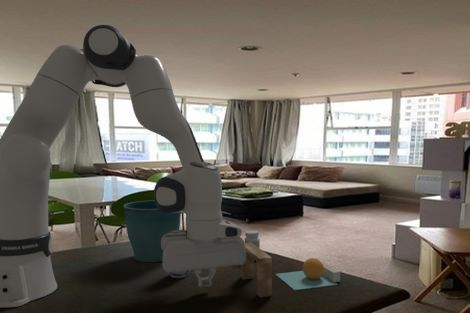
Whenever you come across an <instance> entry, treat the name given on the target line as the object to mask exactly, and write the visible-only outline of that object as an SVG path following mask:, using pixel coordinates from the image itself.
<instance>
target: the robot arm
mask: <svg viewBox="0 0 470 313" xmlns="http://www.w3.org/2000/svg"><path fill="white" fill-rule="evenodd" d="M136 52H137V50H136V47H135V46H134V45H133V44H132V43H131V42H130V41H129V40H128V39H127V37H126V36H125V35H124V34H123V33H122V32H121V31H120V30H118V29H117V28H116V27H114V26H113V25H109V24H98V25H96V26H93V27H92V28H90V29H88V31H87V32H86V34H85V35H84V38H83V42H82V48H80V47H79V48H78V47H76V46H74V45H70V44H62V45H59V46H57V47H56V48H55V49H54V50H53V52H51V54H50V55H49V56H48V57H47V58H46V59H45V61H44V63H43V64H42V65H41V67H40V69H39V70H38V72H37V74H36V75H35V78H34V79H33V81H32V83H30V86H29V88H28V89H27V91H26V93H25V95H24V97H23V99H22V100H21V102H20V105H19V106H18V108H16V111H15V113H14V114H13V116H12V118H11V120H10V121H9V123H8V124H7V126H6V128H5V130H4V131H3V133H2V134H1V136H0V308H16V307H17V308H18V307H21V306H23V305H25V304H28V303H29V302H31V301H35V300H37V299H40V298H43V297H46V296H47V295H50V294H52V293H53V292H55V291H56V289H57V288H58V283H57V280H56V278H55V275H54V270H53V265H52V259H51V254H52V247H53V246H52V244H53V243H52V236H51V231H50V230H49V190H50V180H51V179H50V177H51V152H50V148H51V146H52V145H53V143H54V142H55V141H56V138H57V137H58V135H59V134H60V133H61V131H62V130H63V129H64V127H65V126H66V124H67V122H68V120H69V118H70V117H71V115H72V113H73V111H74V109H75V107H76V105H77V103H78V101H79V99H80V97H81V95H82V93H83V92H84V89H85V87H86V86H87V84H88V83H90V82H91V83H92V84H94V85H100V86H106V87H108V88H121V87H125V86H127V90H128V91H129V96H130V97H129V98H130V101H131V105H132V109H133V113H134V115H135V118H136V119H137V121H138V123H139V124H140V125H141V126H142V127H144V128H145V129H146V130H148V131H149V132H152V133H155V134H157V135H159V136H161V137H162V138H164V139H166V140H167V141H169V143H171V145H173V147H174V148H175V151H176V154H177V156H178V159H179V162H180V164H181V166H182V169H181V170H179V171H177V172H174V173H171V174H168V175H164V176H163V177H161V178H159V179H158V180H157V181H156V183H155V185H154V188H153V199H154V200H155V203H156V205H157V206H158V208H159V209H160V210H161V211H163V212H165V213H178V212H181V213H185V230H186V231H177V232H167V234H165V235H164V236H163V237H162V238H161V248H162V250H163V259H162V261H161V262H162V264H161V265H162V269H163V271H165V272H166V273H168V274H170V272H178V271H187V270H189V271H193V272H194V274H195V275H196V278H197V279H198V282H197V284H198V287H199V288H203V287H211V286H212V284H213V283H212V279H213V277H214V276H215V274H216V273H217V268H223V267H224V268H225V267H232V266H233V267H234V266H241V265H242V264H244V262H245V261H246V250H245V241H244V240H245V239H244V238H243V237H241V236H242V231H243V230H242V228H241V227H240V225H239V226H238V225H237V224H235V223H233V222H231V221H227V220H223V213H222V203H223V202H222V201H223V182H222V176H221V172H220V169H219V167H218V165H215V164H213V163H210V162H205V161H204V158H203V156H202V153H201V150H200V147H199V145H198V142H197V139H196V137H195V135H194V133H193V130H192V128H191V124H190V123H189V122H188V120H187V118H185V117H184V114H183V113H182V111H181V109H180V108H179V105H178V102H177V101H176V98H175V94H174V90H173V87H172V83H171V81H170V78H169V75H168V73H167V71H166V68H165V67H164V65H163V62H162V60H160V58H158V57H156V56H154V55H151V54H150V55H149V54H145V55H144V54H143V55H137V53H136ZM165 236H168V237H165ZM204 269H206V270H207V269H208V271H209V272H208V274H207V276H201V275H200V274H201V273H202V270H204Z"/></svg>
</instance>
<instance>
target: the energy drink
mask: <svg viewBox="0 0 470 313" xmlns="http://www.w3.org/2000/svg"><path fill="white" fill-rule="evenodd" d="M177 231H186V229H179V230H174V231H171V232H177ZM189 275H190V270H187V271H178V272H169V276H170V277H171V278H173V279H183V278H187V277H188V276H189Z"/></svg>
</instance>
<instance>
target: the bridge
mask: <svg viewBox="0 0 470 313" xmlns="http://www.w3.org/2000/svg"><path fill="white" fill-rule="evenodd" d="M244 243H245V242H244ZM245 250H246V261H245V262H244V264H242V265H240V278H241V279H242V280H251V279H254V278H255V274H254V273H255V271H254V270H255V262H254V261H256V296H258V297H259V298H265V297H266V298H267V297H273V291H272V290H273V287H272V286H273V279H272V278H273V276H272V275H273V272H272V269H273V265H272V264H273V263H272V256H270V255H269V254H268V253H266V252H265V251H263V250H262V249H261V247H260V248H258V247H257V246H255V245H254V244H253V243H251V242H249V243H245ZM254 259H255V260H254Z"/></svg>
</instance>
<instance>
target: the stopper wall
mask: <svg viewBox="0 0 470 313" xmlns="http://www.w3.org/2000/svg"><path fill="white" fill-rule="evenodd" d="M322 264H323V266H324V272H323V275H324V276H326V277H327V278H329V279H330V280H332V281H333V282H335V283H338V282H341V271H340V270H338V269H337V268H334V267H332V266H331V265H329V264H328V263H326V262H322Z"/></svg>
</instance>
